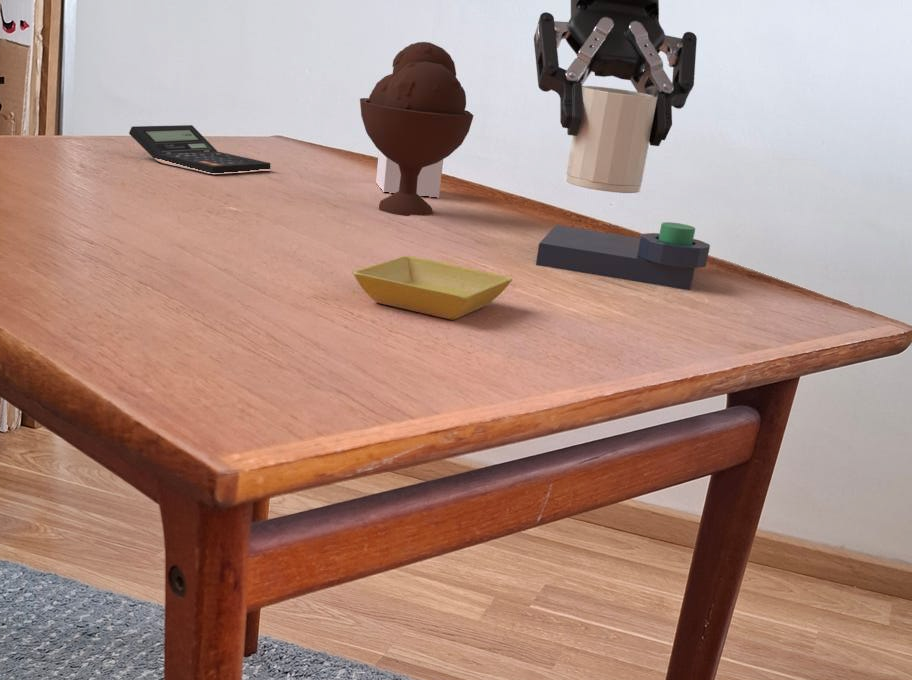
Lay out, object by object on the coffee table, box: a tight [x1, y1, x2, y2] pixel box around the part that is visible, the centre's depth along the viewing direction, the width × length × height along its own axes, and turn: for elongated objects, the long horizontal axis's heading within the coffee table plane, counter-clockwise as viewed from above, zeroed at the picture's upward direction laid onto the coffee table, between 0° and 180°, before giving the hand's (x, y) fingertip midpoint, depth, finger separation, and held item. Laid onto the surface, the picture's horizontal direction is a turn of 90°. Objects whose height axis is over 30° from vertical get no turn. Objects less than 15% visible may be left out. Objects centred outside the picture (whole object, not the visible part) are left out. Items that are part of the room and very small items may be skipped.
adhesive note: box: [375, 150, 444, 199], centre depth 132 cm, size 6×6×6 cm
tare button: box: [658, 221, 696, 245], centre depth 102 cm, size 3×3×2 cm
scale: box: [535, 224, 711, 291], centre depth 107 cm, size 14×12×4 cm
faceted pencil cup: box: [565, 85, 658, 194], centre depth 105 cm, size 6×6×8 cm
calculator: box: [128, 124, 271, 173], centre depth 132 cm, size 9×12×3 cm
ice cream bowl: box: [359, 41, 474, 217], centre depth 118 cm, size 11×11×15 cm
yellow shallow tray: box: [352, 255, 513, 321], centre depth 86 cm, size 9×9×2 cm
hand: (616, 133), depth 103 cm, fingers closed on faceted pencil cup, 6 cm apart
